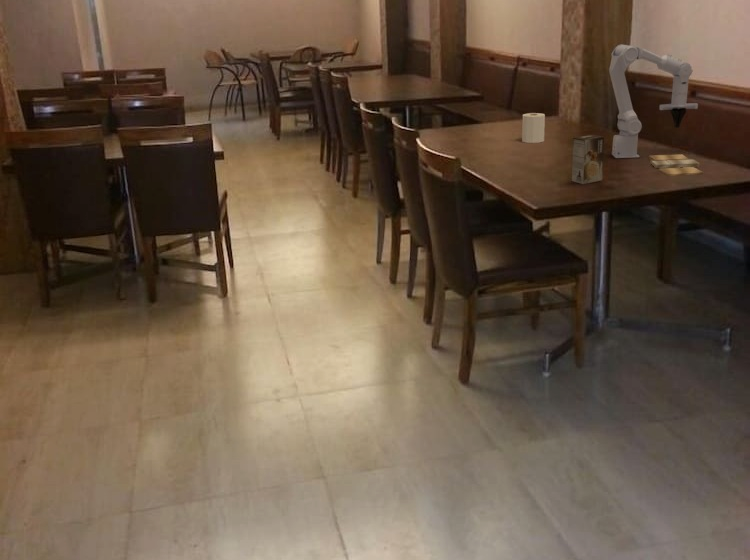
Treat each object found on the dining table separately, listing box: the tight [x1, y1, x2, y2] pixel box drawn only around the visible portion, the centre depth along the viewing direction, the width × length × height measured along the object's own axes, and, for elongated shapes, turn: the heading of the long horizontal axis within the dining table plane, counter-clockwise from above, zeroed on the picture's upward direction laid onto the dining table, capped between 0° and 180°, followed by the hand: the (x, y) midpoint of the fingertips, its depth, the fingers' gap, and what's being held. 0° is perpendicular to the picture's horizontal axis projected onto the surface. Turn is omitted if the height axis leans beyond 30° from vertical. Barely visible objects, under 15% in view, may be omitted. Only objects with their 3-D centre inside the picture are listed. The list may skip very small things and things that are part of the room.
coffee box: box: [571, 134, 605, 185], centre depth 275 cm, size 9×6×16 cm
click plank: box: [648, 153, 689, 161], centre depth 302 cm, size 13×9×1 cm
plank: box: [658, 167, 704, 177], centre depth 284 cm, size 13×9×1 cm
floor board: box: [650, 158, 700, 169], centre depth 294 cm, size 16×8×2 cm, turn 86°
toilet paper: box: [521, 112, 546, 144], centre depth 351 cm, size 10×10×12 cm
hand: (676, 127), depth 312 cm, fingers closed
